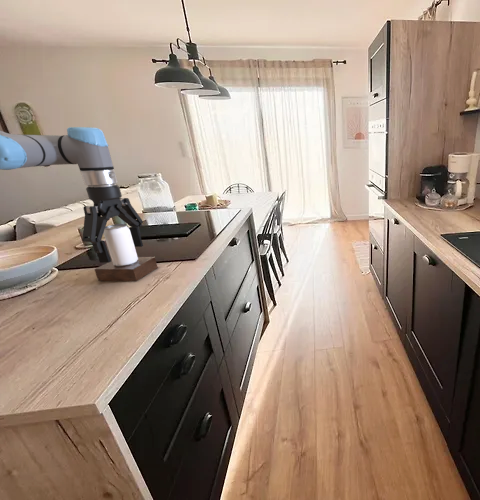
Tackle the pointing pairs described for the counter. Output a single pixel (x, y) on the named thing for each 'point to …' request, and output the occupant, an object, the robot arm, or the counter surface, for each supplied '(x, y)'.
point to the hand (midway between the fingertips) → (123, 253)
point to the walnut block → (126, 270)
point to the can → (120, 244)
